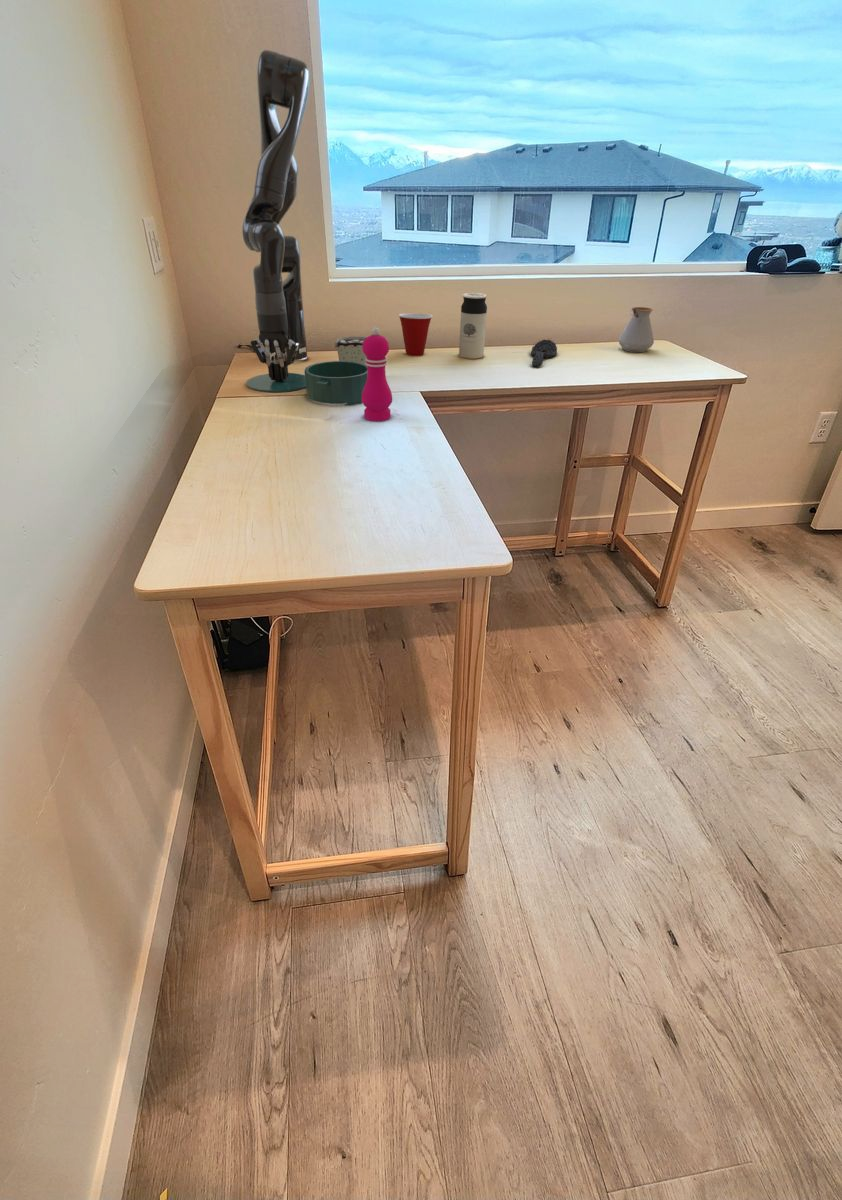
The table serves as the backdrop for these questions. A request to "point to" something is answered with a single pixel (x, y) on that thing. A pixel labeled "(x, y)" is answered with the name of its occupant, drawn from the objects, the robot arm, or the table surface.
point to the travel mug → (473, 326)
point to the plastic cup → (415, 332)
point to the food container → (351, 349)
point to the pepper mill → (376, 378)
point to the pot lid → (277, 381)
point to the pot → (336, 382)
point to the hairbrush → (543, 351)
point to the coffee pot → (638, 331)
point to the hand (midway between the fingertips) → (279, 379)
